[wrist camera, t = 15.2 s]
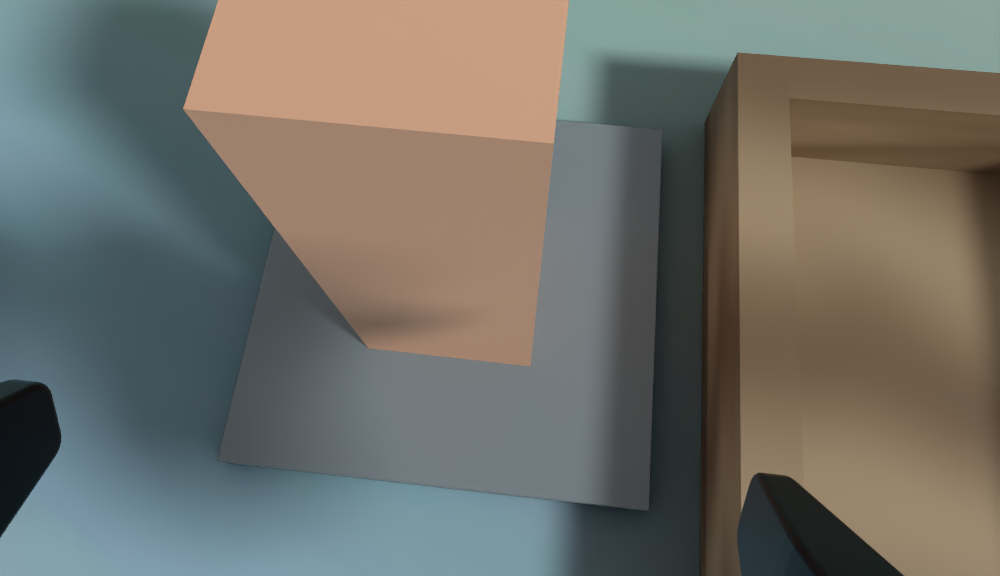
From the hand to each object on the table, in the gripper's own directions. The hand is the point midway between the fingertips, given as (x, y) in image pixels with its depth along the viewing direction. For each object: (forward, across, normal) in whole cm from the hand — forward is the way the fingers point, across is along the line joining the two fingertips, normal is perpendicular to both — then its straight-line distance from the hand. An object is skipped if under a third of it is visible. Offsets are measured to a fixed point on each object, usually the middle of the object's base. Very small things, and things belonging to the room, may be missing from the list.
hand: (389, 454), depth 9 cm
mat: (+9, 0, +2) cm, 10 cm away
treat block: (+9, 0, +2) cm, 9 cm away
